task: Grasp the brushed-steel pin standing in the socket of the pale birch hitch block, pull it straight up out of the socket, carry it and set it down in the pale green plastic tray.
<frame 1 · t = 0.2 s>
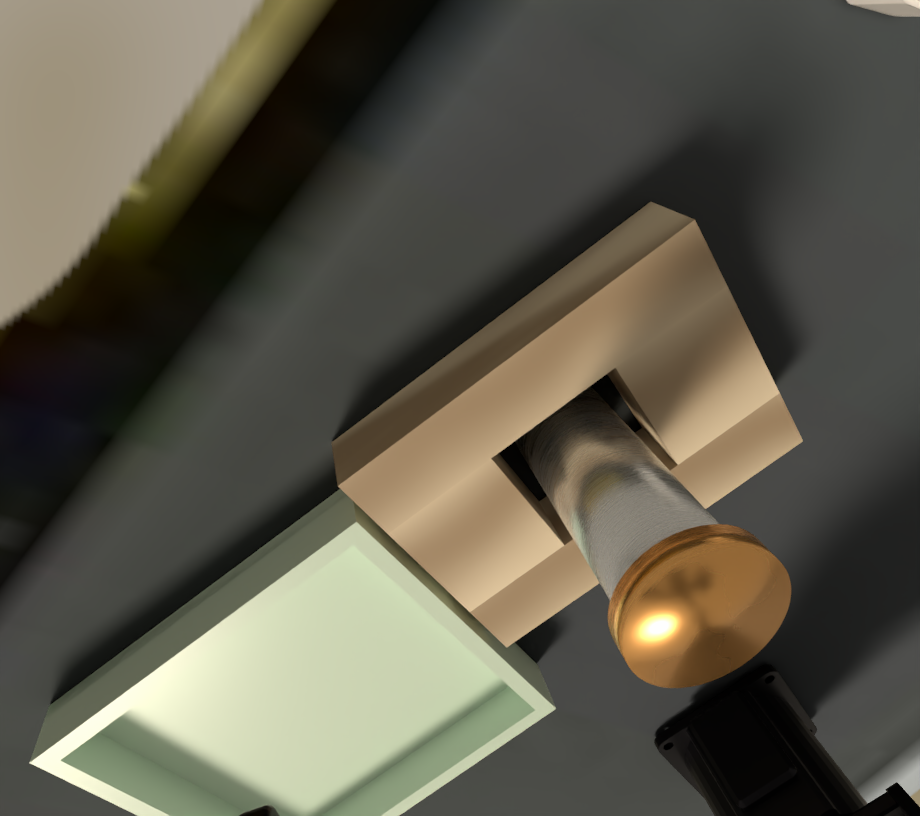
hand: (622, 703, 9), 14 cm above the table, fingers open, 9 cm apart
hitch block: (559, 423, 23), on the table
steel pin: (618, 501, 19), in the hitch block
tray: (315, 682, 26), on the table
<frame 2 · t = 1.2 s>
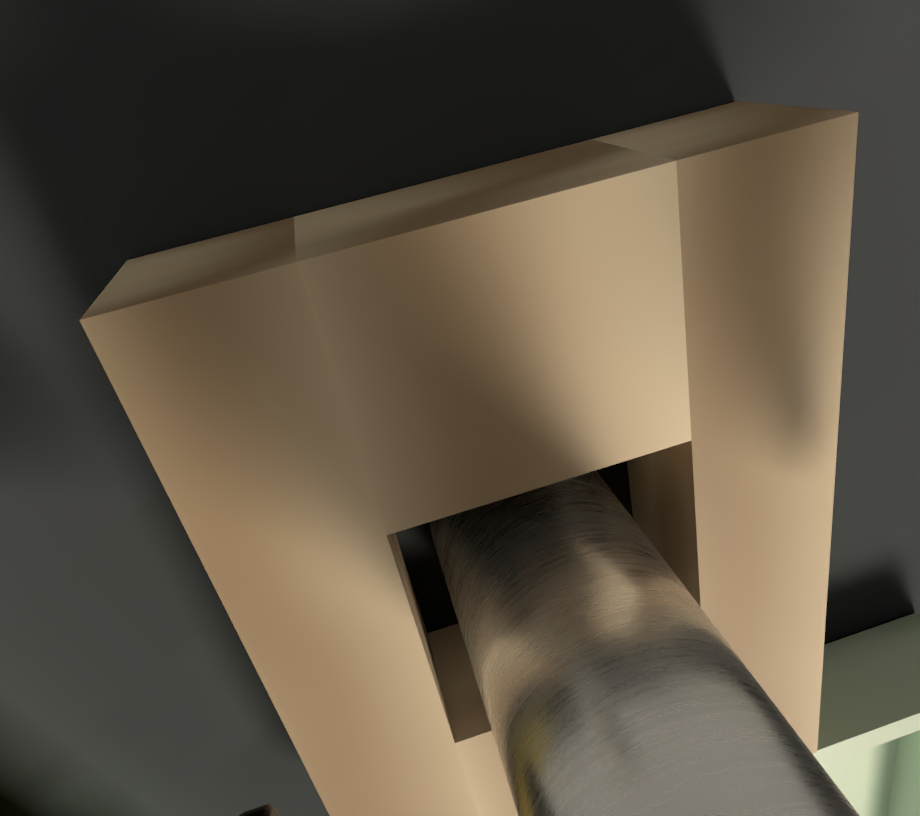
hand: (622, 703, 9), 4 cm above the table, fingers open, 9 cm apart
hitch block: (515, 510, 13), on the table
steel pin: (623, 720, 9), in the hitch block
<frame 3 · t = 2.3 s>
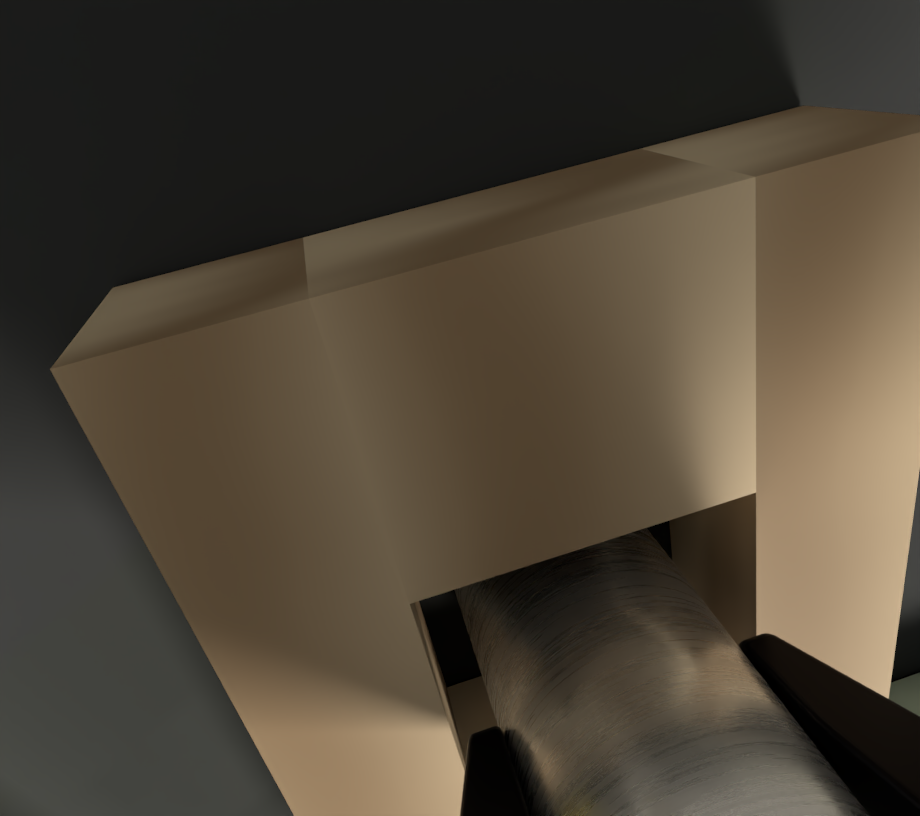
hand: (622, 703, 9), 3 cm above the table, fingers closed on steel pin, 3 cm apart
hitch block: (545, 556, 12), on the table
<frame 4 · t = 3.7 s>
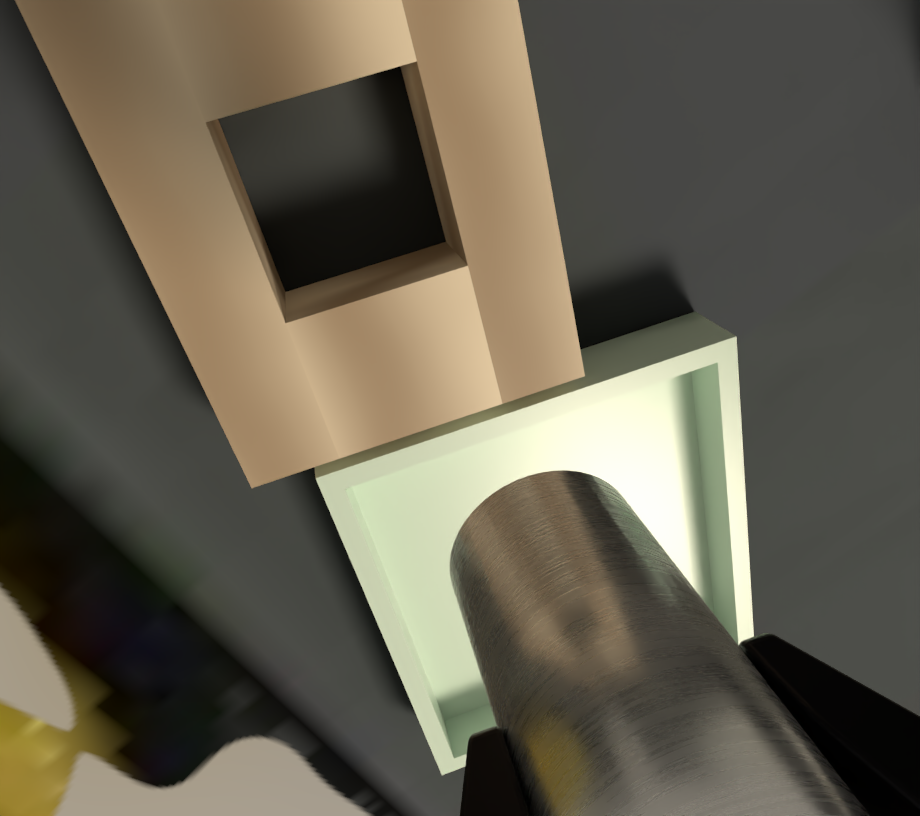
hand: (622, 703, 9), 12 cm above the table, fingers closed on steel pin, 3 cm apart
hitch block: (339, 182, 17), on the table
tray: (548, 539, 24), on the table
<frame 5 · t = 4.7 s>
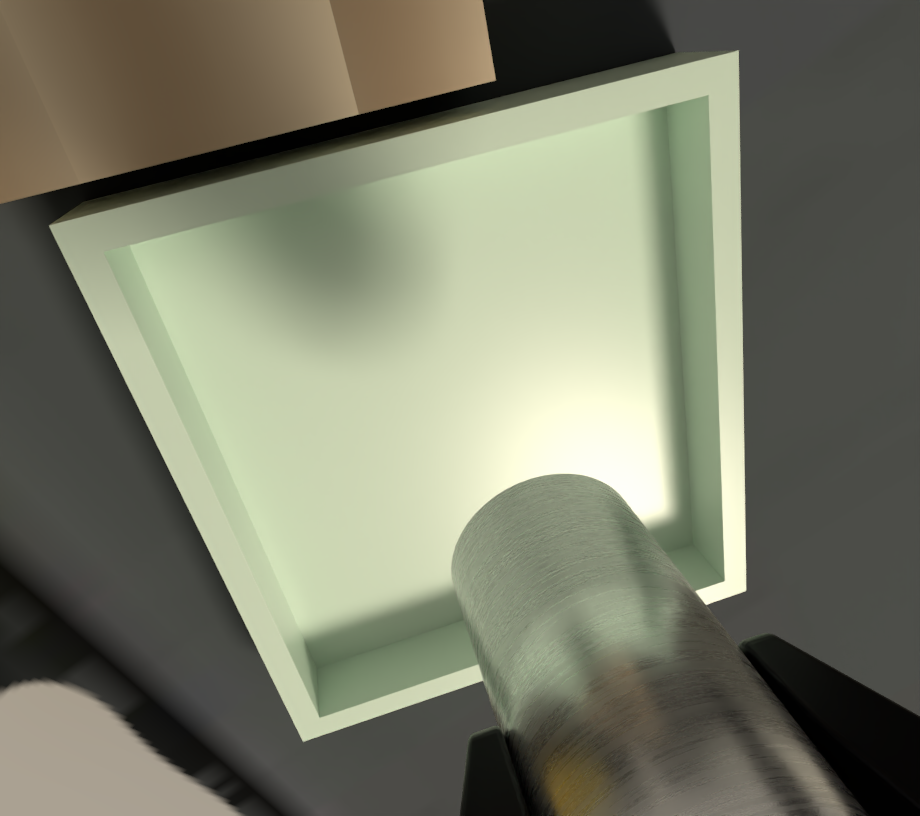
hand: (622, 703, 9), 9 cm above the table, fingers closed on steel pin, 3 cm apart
tray: (461, 408, 17), on the table
when the fingers open (5 cm above the table, at t = 5.5 s): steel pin drops 1 cm, resting on tray.
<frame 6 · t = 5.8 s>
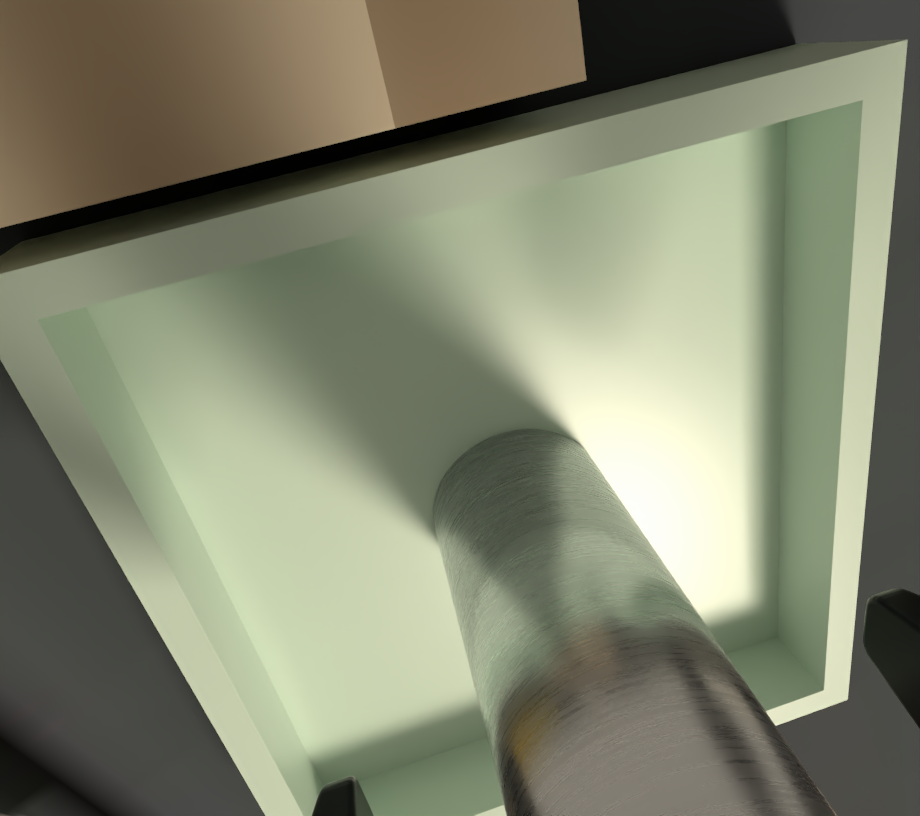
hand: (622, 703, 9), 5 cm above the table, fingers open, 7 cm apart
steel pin: (612, 715, 9), in the tray, point 5 cm above the table
tray: (507, 487, 13), on the table
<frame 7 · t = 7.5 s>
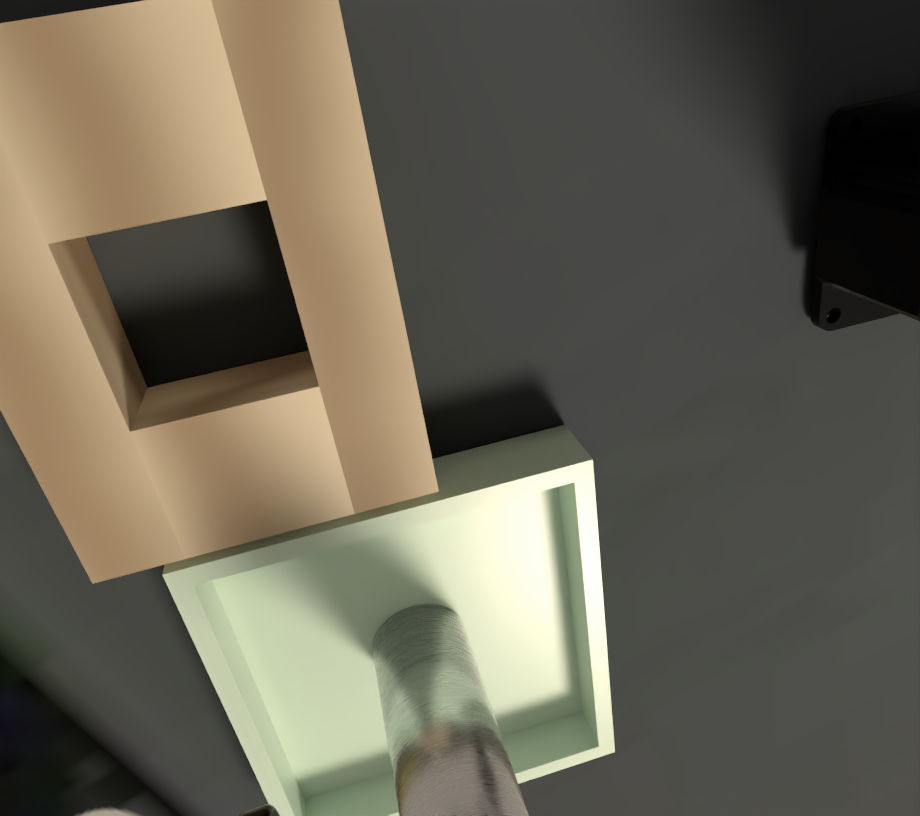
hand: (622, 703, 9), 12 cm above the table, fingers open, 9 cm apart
hitch block: (205, 289, 17), on the table
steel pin: (449, 762, 19), in the tray, point 5 cm above the table
tray: (415, 629, 24), on the table
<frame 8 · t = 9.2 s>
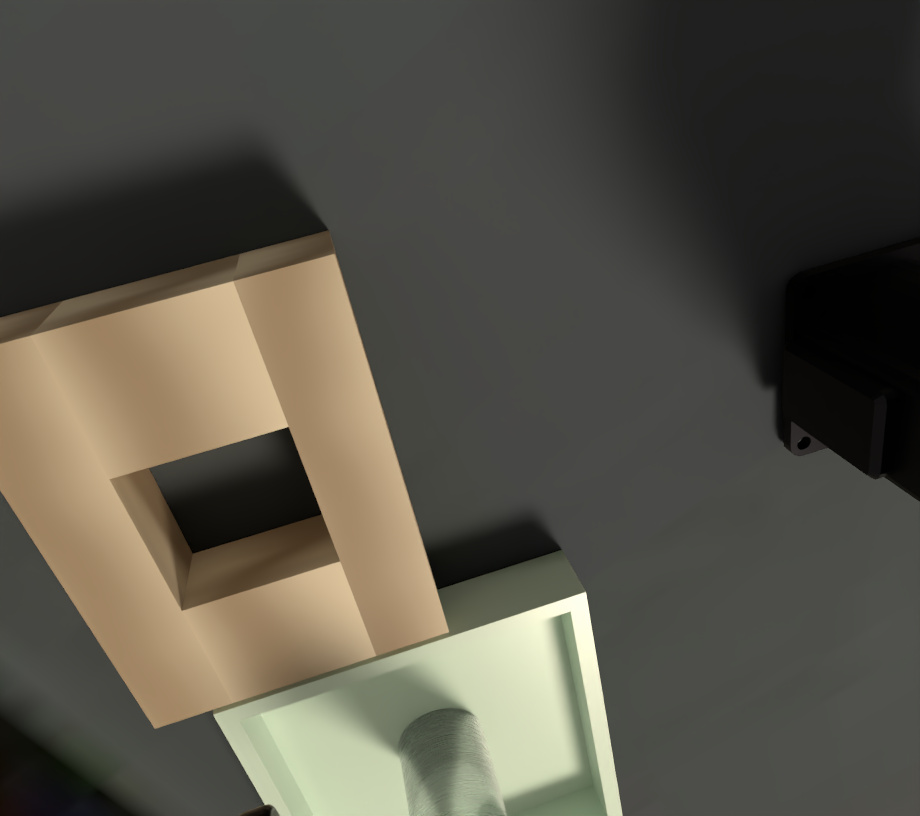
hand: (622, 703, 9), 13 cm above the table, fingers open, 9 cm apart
hitch block: (238, 473, 20), on the table
tray: (437, 726, 27), on the table
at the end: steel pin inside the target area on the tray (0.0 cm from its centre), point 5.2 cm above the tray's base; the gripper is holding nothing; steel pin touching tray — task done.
